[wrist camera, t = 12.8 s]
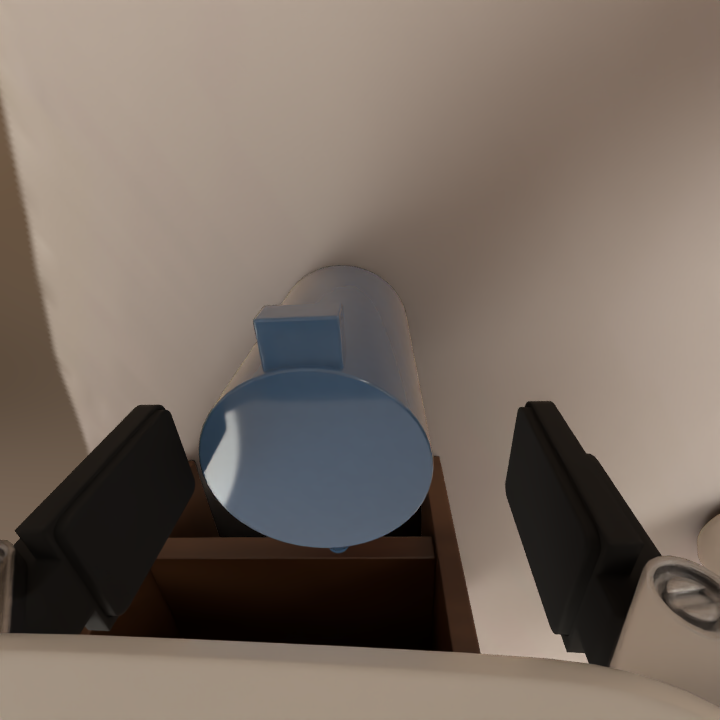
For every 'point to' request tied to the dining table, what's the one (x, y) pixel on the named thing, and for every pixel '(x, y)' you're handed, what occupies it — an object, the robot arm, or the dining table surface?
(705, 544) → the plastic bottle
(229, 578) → the shelf stand
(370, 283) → the jug
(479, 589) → the dining table surface
